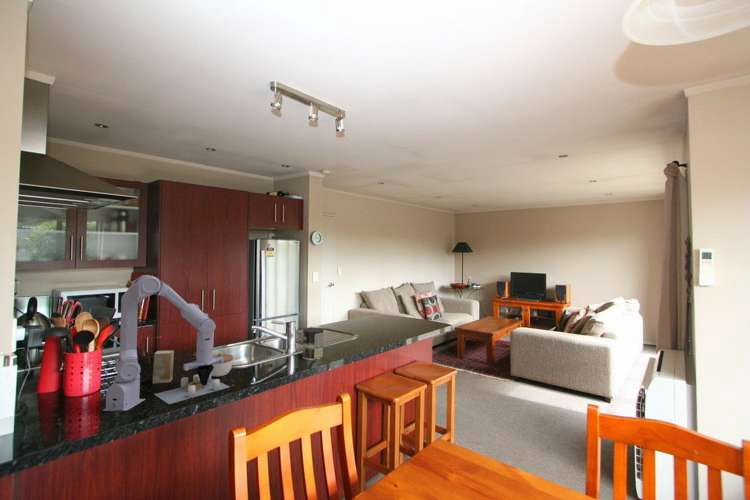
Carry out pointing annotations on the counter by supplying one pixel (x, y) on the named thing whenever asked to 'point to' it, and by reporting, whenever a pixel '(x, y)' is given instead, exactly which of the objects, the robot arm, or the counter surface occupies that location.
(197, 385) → the nut
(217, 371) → the lidded jar
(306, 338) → the coffee can
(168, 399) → the board
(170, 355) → the skincare box
